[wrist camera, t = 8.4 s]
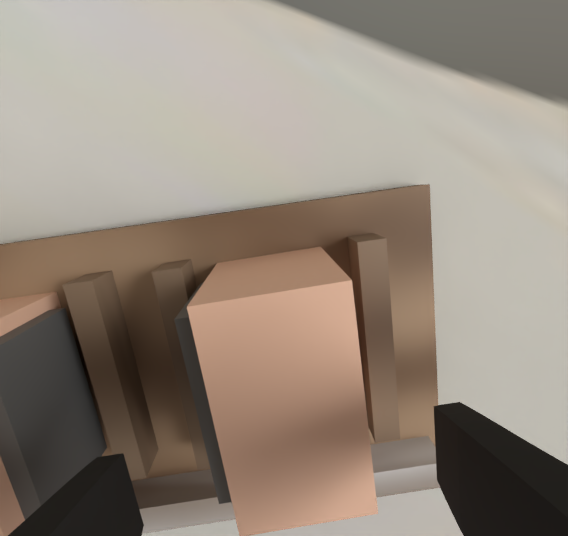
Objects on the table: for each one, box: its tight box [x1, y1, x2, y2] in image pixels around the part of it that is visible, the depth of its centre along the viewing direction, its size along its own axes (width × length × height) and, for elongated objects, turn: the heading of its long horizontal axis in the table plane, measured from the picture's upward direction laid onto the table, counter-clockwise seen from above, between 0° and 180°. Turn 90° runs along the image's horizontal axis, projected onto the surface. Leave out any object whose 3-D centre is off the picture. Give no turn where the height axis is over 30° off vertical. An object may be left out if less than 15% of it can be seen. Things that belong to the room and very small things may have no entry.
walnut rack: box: [0, 185, 440, 534], centre depth 14 cm, size 13×22×2 cm, turn 98°
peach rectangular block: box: [174, 247, 378, 536], centre depth 11 cm, size 5×7×5 cm, turn 9°
